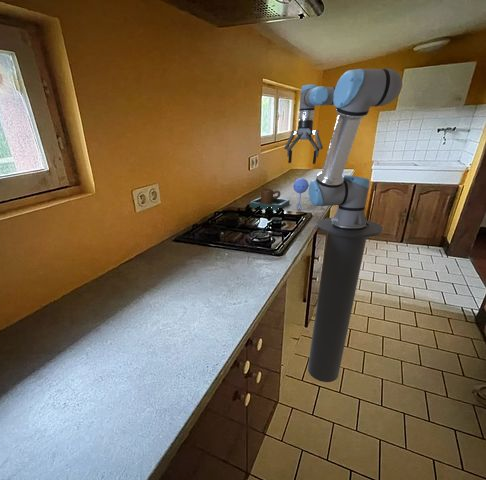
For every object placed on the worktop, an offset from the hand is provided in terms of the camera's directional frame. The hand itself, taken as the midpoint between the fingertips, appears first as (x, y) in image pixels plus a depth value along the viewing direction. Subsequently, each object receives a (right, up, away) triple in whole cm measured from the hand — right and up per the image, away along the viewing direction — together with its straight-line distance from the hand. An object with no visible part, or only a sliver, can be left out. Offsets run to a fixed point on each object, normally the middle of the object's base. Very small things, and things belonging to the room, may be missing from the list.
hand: (301, 163), depth 166 cm
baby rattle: (+3, -19, +13) cm, 24 cm away
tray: (-12, -17, +26) cm, 34 cm away
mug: (-12, -17, +25) cm, 33 cm away
